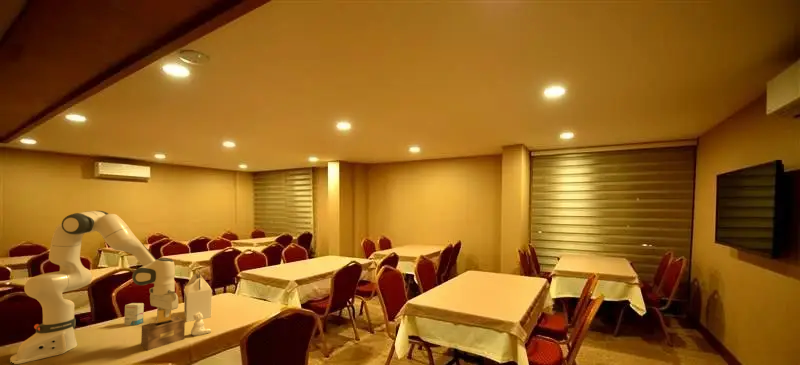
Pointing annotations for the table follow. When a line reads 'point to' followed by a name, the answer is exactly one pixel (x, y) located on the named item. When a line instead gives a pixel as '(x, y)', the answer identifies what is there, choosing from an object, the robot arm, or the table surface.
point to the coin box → (162, 333)
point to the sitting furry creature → (199, 325)
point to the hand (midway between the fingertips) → (163, 316)
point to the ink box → (134, 313)
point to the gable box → (197, 298)
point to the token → (162, 315)
